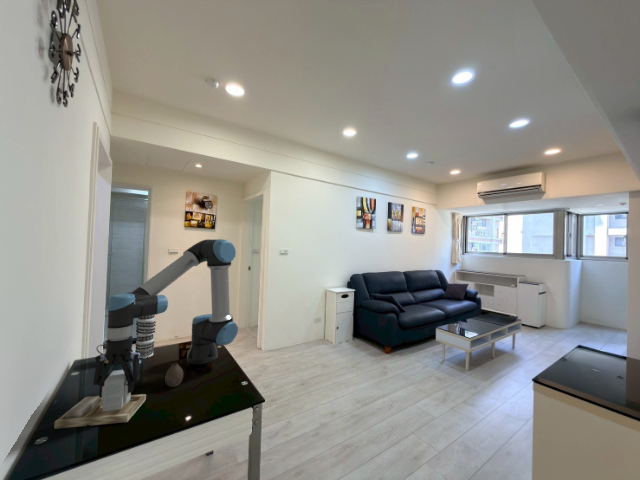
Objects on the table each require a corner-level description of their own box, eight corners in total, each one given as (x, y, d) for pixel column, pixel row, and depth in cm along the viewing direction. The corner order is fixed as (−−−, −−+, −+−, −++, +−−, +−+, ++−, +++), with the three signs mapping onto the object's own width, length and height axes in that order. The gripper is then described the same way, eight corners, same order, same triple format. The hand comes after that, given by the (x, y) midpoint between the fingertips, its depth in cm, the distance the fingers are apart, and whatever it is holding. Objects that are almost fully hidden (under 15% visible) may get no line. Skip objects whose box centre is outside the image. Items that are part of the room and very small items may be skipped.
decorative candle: (129, 357, 137) (132, 310, 138) (146, 351, 146) (149, 307, 147) (141, 360, 134) (144, 312, 135) (158, 353, 142) (160, 308, 144)
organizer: (145, 399, 99) (146, 389, 99) (127, 421, 86) (127, 410, 86) (83, 404, 95) (84, 394, 95) (54, 428, 82) (55, 416, 82)
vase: (185, 384, 111) (186, 364, 111) (167, 390, 106) (168, 369, 106) (179, 379, 115) (180, 359, 116) (162, 384, 110) (163, 364, 111)
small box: (110, 399, 94) (112, 370, 95) (128, 396, 96) (130, 368, 97) (101, 412, 87) (103, 380, 87) (121, 409, 89) (123, 378, 89)
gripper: (153, 333, 98) (150, 394, 97) (96, 335, 94) (92, 398, 93) (144, 339, 91) (140, 406, 90) (81, 342, 87) (77, 411, 86)
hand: (116, 402), depth 91 cm, fingers open, 6 cm apart
